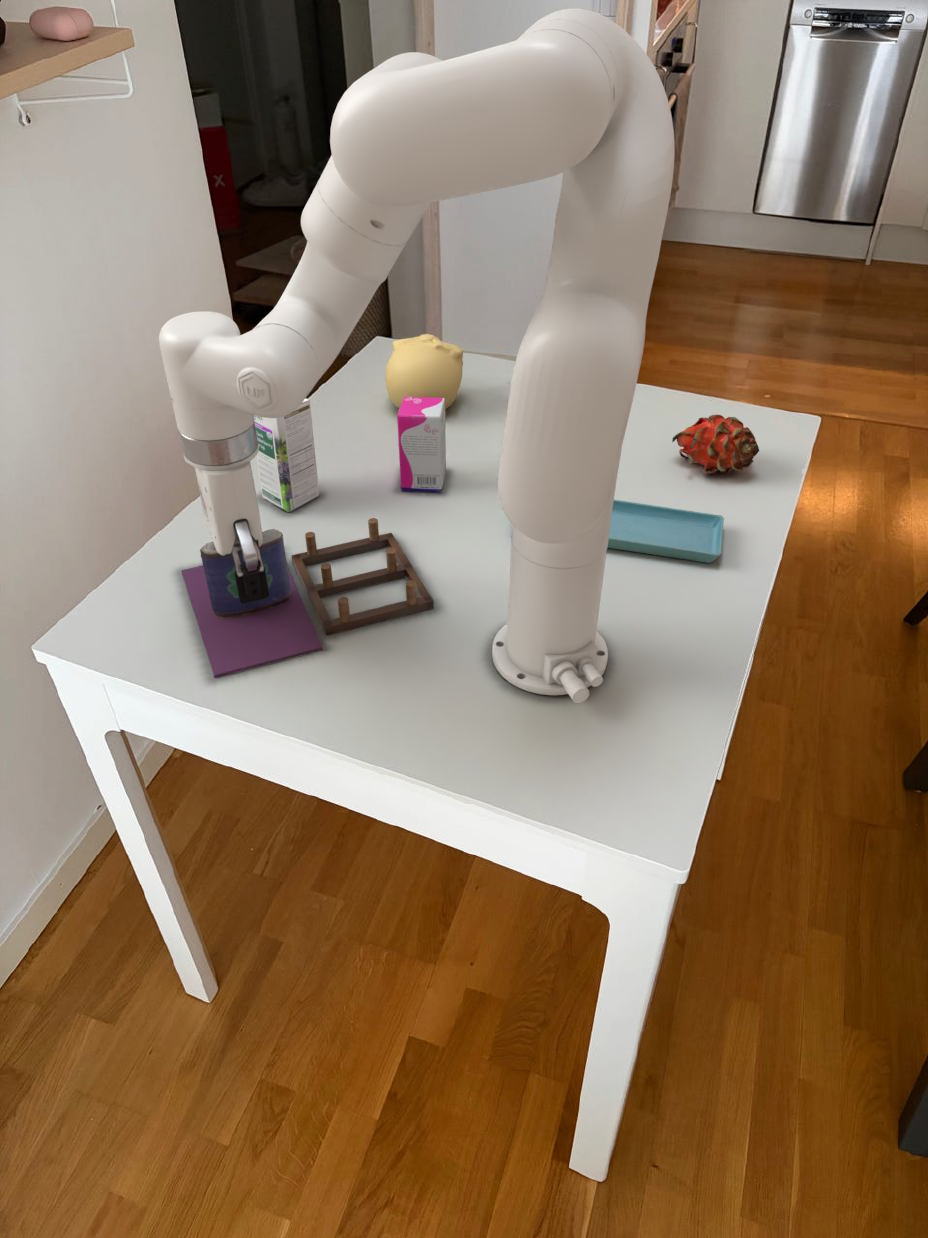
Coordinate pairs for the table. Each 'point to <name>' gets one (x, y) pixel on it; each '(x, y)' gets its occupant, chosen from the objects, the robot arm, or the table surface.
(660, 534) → the teal serving tray
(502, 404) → the table surface
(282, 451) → the syrup box
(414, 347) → the sculpture
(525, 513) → the robot arm
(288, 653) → the mat
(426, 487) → the supplement box
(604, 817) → the table surface
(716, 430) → the dragon fruit
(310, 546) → the dish rack
